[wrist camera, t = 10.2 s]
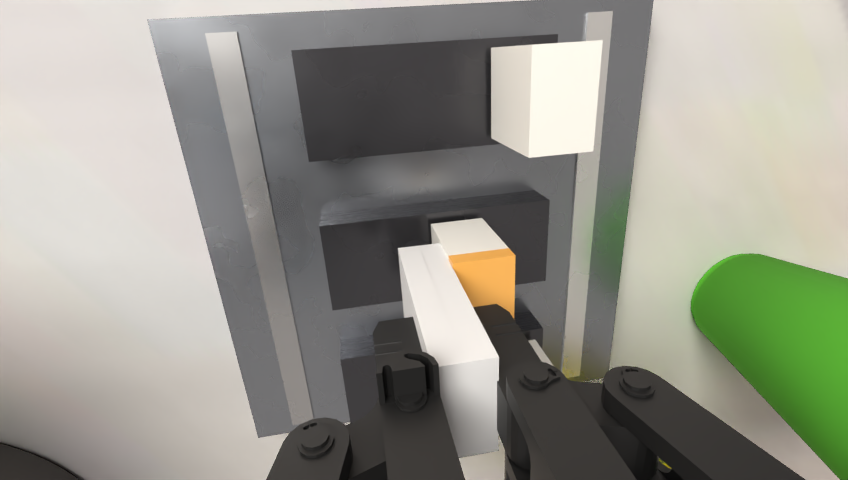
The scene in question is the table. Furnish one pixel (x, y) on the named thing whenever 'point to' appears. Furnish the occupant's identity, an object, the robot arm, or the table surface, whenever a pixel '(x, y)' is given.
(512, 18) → the panel
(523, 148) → the handle
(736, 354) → the cup
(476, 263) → the handle
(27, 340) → the table surface
